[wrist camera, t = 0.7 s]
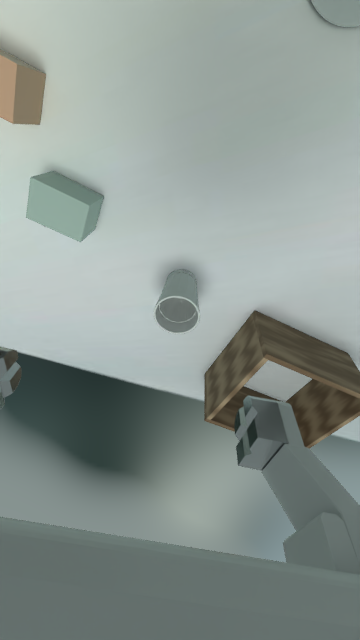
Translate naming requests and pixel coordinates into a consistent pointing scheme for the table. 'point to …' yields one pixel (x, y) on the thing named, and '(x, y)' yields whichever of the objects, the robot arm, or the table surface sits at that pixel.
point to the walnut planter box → (296, 354)
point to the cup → (178, 303)
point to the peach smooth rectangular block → (20, 90)
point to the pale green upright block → (63, 205)
